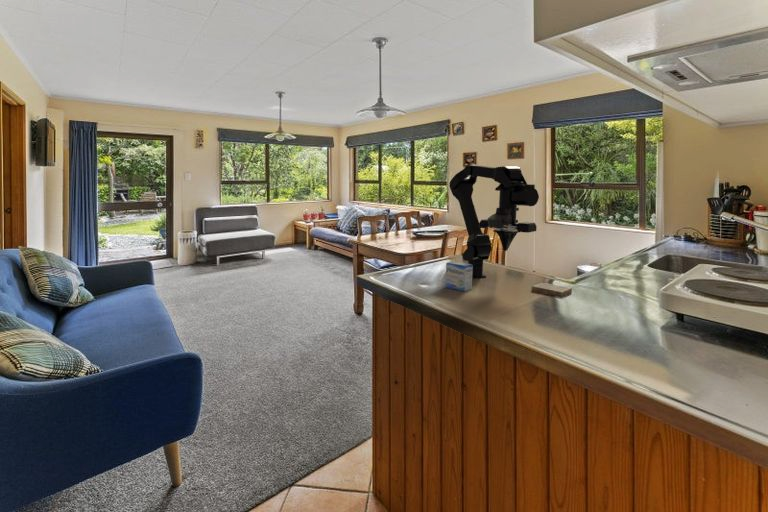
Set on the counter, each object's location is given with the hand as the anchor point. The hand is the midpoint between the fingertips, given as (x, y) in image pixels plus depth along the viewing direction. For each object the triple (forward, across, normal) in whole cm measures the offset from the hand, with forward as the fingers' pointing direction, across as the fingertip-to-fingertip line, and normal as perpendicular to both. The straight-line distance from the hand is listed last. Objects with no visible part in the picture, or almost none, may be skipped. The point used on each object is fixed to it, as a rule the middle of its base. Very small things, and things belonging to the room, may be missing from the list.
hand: (505, 250), depth 140 cm
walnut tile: (+11, +10, +3) cm, 16 cm away
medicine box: (+12, -8, -15) cm, 21 cm away
